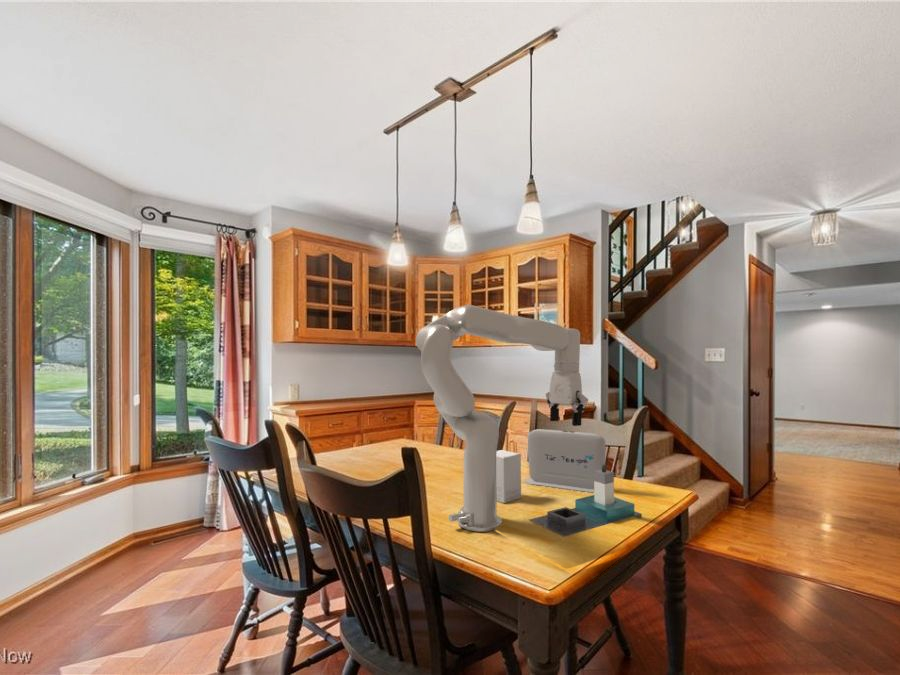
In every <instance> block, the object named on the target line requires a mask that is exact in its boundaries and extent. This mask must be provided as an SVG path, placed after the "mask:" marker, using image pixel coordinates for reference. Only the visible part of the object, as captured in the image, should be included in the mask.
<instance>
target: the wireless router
mask: <svg viewBox="0 0 900 675" xmlns="http://www.w3.org/2000/svg"><path fill="white" fill-rule="evenodd" d="M527 452H528V457H527V458H528V473H529V477H526V478H524V480H523V482H524V483H525V484H526V483H527V484H526V485H529V484H530V486H535V485H536V486H537V487H542V486H545V487H544V488H549V487H551V489H556V488H558V489H557V490H564V489H565V490H566V491H571V490H573V491H572V492H578V491H580V493H585V492H587V494H593V493H594V471H597V470H602V465H606V440H605V438H604V437H603V436H602V435H600V434H597V433H594V432H584V431H583V432H580V431H570V430H569V431H567V430H555V429H543V428H542V429H541V428H537V429H534V430H531V431H530V432H529V433H527ZM536 486H535V487H536Z"/></svg>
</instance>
